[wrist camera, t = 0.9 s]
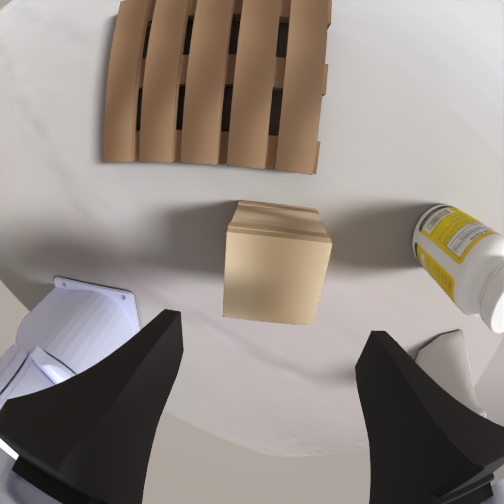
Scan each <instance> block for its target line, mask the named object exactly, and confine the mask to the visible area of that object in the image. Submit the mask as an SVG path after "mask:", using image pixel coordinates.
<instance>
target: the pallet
mask: <svg viewBox="0 0 504 504" xmlns="http://www.w3.org/2000/svg"><path fill="white" fill-rule="evenodd" d="M331 7H332V0H125V1H121V3H120V7H119V11H118V16H117V21H116V25H115V30H114V36H113V41H112V47H111V54H110V61H109V69H108V77H107V87H106V99H105V115H104V163H105V162H133V161H139V162H166V163H172V162H174V161H177V162H181V163H193V164H211V165H217V164H227V166H238V167H249V168H259V169H265V168H272V169H275V170H278V171H286V172H294V173H302V174H309V175H313V174H316V170H317V163H318V155H319V148H320V142H318V141H317V136H318V128H319V119H320V110H321V100H322V96H324V95H325V94H326V84H327V72H328V64H325V55H326V40H327V29H328V28H329V26H330V24H331ZM232 20H241V22H240V30H239V38H238V47H237V54H228V50H229V42H230V34H231V26H232ZM188 22H194V24H193V30H192V37H191V45H190V52H189V55H183V50H184V43H185V36H186V29H187V23H188ZM279 23H286V24H289V31H288V42H287V53H286V58H282V57H276V49H277V39H278V28H279ZM150 26H151V30H150V36H149V43H148V49H147V57H146V59H142V56H143V49H144V42H145V36H146V30H147V27H150ZM179 87H186V89H185V100H184V112H183V127H182V130H176V123H177V109H178V96H179ZM225 87H233V95H232V105H231V117H230V128H229V131H221V121H222V110H223V99H224V88H225ZM139 89H143V93H142V106H141V123H140V131H136V121H137V105H138V92H139ZM272 90H279V91H283V95H282V105H281V115H280V124H279V134H278V136H275V135H268V130H269V120H270V110H271V100H272Z"/></svg>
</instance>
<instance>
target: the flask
mask: <svg viewBox="0 0 504 504" xmlns="http://www.w3.org/2000/svg"><path fill="white" fill-rule="evenodd" d="M415 362H416V363H417V364H418V365H419V366H420V367H421V368H422V369H423V370H424V371H425V372H426V373H427V374H428V375H429V376H430V377H431V378H432V379H433V380H434V381H435V382H436V383H437V384H438V385H439V386H440V387H442V388H443V389H444V390H445V391H446V392H448V393H449V394H450V395H451V396H453V397H454V398H455V399H456V400H458V401H459V402H460V403H462V404H463V405H465V406H466V407H468V408H469V409H471V410H472V411H474V412H475V413H477V414H479V415H480V416H482V417H484V418H485V417H486V411H485V410H484V409H481V408H480V406H479V404H478V402H477V399H476V396H475V392H474V389H473V383H472V376H471V370H470V364H469V357H468V350H467V345H466V341H465V338H464V335H463V332H462V330H459V331H455V332H451V333H446V334H442V335H440V336H439V337H438V338H436V339H435V340H433V341H432V342H431V343H429V344H428V345H426V346H425V347H424V348H422V349H421V350H419V352H418V355H417V357H416V360H415Z"/></svg>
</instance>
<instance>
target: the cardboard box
mask: <svg viewBox="0 0 504 504" xmlns="http://www.w3.org/2000/svg"><path fill="white" fill-rule="evenodd" d="M331 249H332V242H331V236H330V234H328V233H327V231H326V229H325V227H324V225H323V223H322V221H321V219H320V217H319V216H318V211H317V210H315V209H314V208H307V207H299V206H291V205H282V204H274V203H265V202H255V201H245V200H240V201H239V202H238V206H237V209H236V211H235V214H234V216H233V218H232V221H231V222H229V225H228V229H227V237H226V255H225V275H224V297H223V317H227V318H235V319H244V320H253V321H262V322H272V323H283V324H295V325H308V326H312V325H313V322H314V318H315V314H316V310H317V307H318V303H319V299H320V295H321V291H322V287H323V283H324V279H325V275H326V271H327V266H328V262H329V258H330V253H331Z"/></svg>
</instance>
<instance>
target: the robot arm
mask: <svg viewBox="0 0 504 504" xmlns="http://www.w3.org/2000/svg"><path fill="white" fill-rule="evenodd" d="M54 284H55V288H54V289H53V290H52V291H51V292H50V293H49V294H48V295H47V296H46V297H45V298H44V299H43V300H42V301H40V302H39V303H38V304H37V305H36V306H35V307H34V308H33V309H32V310H31V312H30V313H29V314H28V315H27V316H26V317H25V318H24V319H23V320H22V322H21V324H20V326H19V328H18V331H17V335H16V345H15V344H14V345H12V346H11V347H10V348H9V349H7V350H6V351H5V352H4V353H3V354H2V356H1V357H0V504H142V497H143V490H144V484H145V478H146V472H147V466H148V462H149V457H150V453H151V448H152V444H153V440H154V436H155V432H156V428H157V425H158V422H159V419H160V416H161V414H162V411H163V409H164V406H165V404H166V401H167V399H168V396H169V394H170V391H171V389H172V386H173V384H174V381H175V379H176V376H177V374H178V370H179V367H180V363H181V359H182V355H183V351H184V349H183V338H182V325H181V312H180V311H174V310H168V309H165V310H163V311H162V312H161V313H160V314H158V315H157V316H156V317H155V318H154V319H153V320H152V321H151V322H149V323H148V324H147V325H146V326H145V327H144V328H143V329H141V330H140V326H139V321H138V315H137V310H136V304H135V298H134V295H133V294H132V293H131V292H129V291H123V290H118V289H113V288H108V287H103V286H98V285H93V284H88V283H83V282H79V281H74V280H69V279H65V278H61V277H56V278H55V279H54ZM122 295H124V296H125V297H123V296H122ZM355 370H356V381H357V389H358V393H359V398H360V402H361V406H362V411H363V415H364V419H365V424H366V428H367V433H368V439H369V447H370V462H371V486H370V501H369V504H504V479H502V480H501V481H499V482H497V483H496V484H494V485H493V486H491V484H490V481H492V480H493V479H494V475H493V472H494V471H495V470H497V469H498V468H499V467H501V466H502V465H503V464H504V427H503V426H500V425H498V424H496V423H493V422H492V421H490V420H488V419H486V418H484V417H482V416H480V415H479V414H477V413H475V412H474V411H472V410H471V409H469V408H468V407H466V406H465V405H463V404H462V403H460V402H459V401H458V400H456V399H455V398H454V397H453V396H451V395H450V394H449V393H448V392H446V391H445V390H444V389H443V388H442V387H440V386H439V385H438V384H437V383H436V382H435V381H434V380H433V379H432V378H431V377H430V376H429V375H428V374H427V373H426V372H425V371H424V370H423V369H422V368H421V367H420V366H419V365H418V364H417V363H416V362H415V361H414V360H413V359H412V358H411V357H410V356H409V355H408V354H407V353H406V352H405V351H404V349H403V348H402V347H401V346H400V345H399V344H398V343H397V342H396V341H395V340H394V339H393V338H392V337H391V336H390V335H389V334H388V333H387V332H386V331H371V333H370V336H369V338H368V340H367V342H366V345H365V347H364V349H363V351H362V353H361V355H360V358H359V360H358V362H357V364H356V366H355Z"/></svg>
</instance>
